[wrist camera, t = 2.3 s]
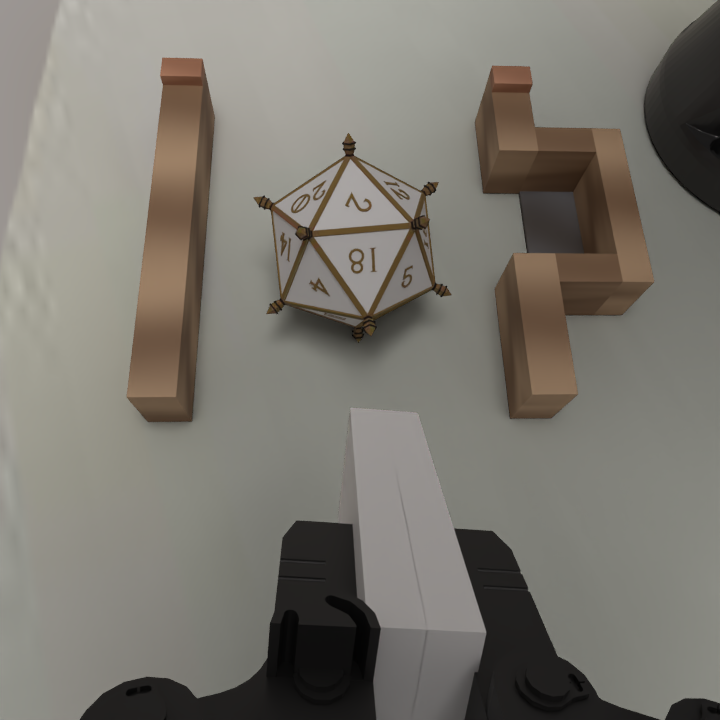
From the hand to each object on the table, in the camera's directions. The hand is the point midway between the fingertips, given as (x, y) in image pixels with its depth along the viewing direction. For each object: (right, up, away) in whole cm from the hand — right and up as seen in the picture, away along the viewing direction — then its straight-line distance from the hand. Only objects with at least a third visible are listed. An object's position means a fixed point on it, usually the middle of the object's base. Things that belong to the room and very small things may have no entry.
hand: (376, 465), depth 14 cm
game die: (-1, +6, +19) cm, 20 cm away
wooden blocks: (+1, +8, +19) cm, 21 cm away
